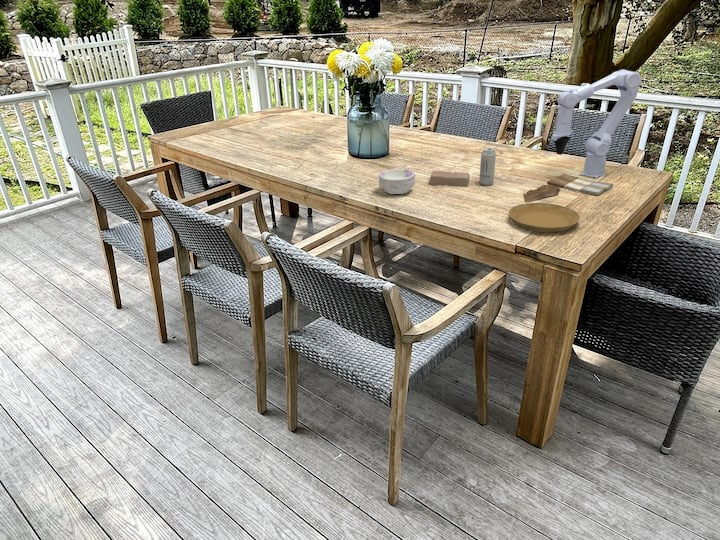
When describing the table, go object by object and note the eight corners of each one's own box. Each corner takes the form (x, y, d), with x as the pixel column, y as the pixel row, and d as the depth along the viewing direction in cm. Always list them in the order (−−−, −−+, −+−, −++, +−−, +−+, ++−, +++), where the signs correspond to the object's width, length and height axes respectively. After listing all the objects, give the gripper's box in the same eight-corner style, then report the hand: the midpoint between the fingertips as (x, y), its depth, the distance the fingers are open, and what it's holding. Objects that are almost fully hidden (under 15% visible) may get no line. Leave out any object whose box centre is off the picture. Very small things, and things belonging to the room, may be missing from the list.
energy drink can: (476, 184, 223) (478, 150, 216) (484, 180, 227) (486, 147, 220) (488, 187, 219) (491, 152, 212) (496, 183, 223) (499, 149, 216)
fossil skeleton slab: (548, 184, 221) (548, 181, 220) (571, 190, 213) (572, 187, 213) (511, 199, 207) (511, 196, 206) (534, 206, 199) (534, 203, 199)
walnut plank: (562, 188, 214) (562, 185, 214) (546, 184, 219) (547, 181, 218) (578, 180, 223) (578, 177, 222) (563, 176, 227) (563, 173, 226)
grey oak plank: (595, 184, 217) (596, 181, 217) (612, 186, 213) (613, 183, 212) (580, 192, 209) (580, 189, 209) (597, 195, 204) (597, 192, 204)
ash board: (579, 180, 222) (579, 177, 222) (595, 183, 218) (595, 180, 217) (563, 188, 214) (563, 185, 213) (579, 192, 209) (579, 189, 209)
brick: (469, 181, 228) (470, 171, 226) (467, 187, 221) (468, 176, 219) (432, 180, 232) (432, 169, 230) (429, 186, 225) (429, 175, 223)
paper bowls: (373, 189, 223) (373, 171, 219) (405, 183, 228) (405, 166, 224) (388, 200, 211) (387, 181, 207) (421, 194, 215) (421, 175, 212)
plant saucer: (509, 208, 198) (510, 200, 196) (576, 212, 191) (577, 204, 190) (506, 233, 178) (507, 224, 176) (581, 239, 171) (582, 229, 170)
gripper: (563, 117, 223) (559, 148, 229) (546, 123, 214) (542, 156, 221) (579, 119, 218) (574, 151, 225) (562, 126, 210) (557, 158, 216)
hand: (559, 154), depth 222 cm, fingers closed
